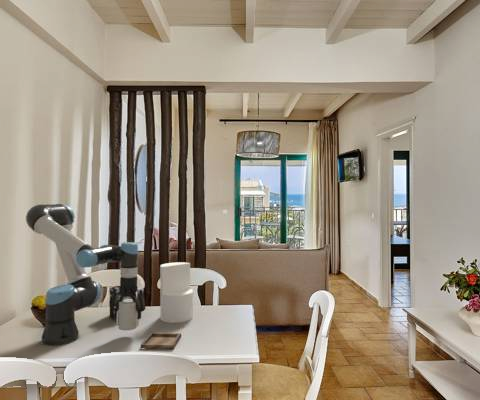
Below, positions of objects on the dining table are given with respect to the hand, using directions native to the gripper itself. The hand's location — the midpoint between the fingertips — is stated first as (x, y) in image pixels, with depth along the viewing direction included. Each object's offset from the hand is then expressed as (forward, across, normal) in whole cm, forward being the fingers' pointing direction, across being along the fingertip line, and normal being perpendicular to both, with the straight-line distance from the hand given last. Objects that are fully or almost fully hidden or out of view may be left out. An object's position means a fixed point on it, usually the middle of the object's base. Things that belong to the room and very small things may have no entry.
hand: (127, 325), depth 168 cm
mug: (+6, -15, +27) cm, 31 cm away
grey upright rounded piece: (+1, 0, 0) cm, 1 cm away
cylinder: (+5, +16, +29) cm, 33 cm away
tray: (+5, +18, -6) cm, 20 cm away
